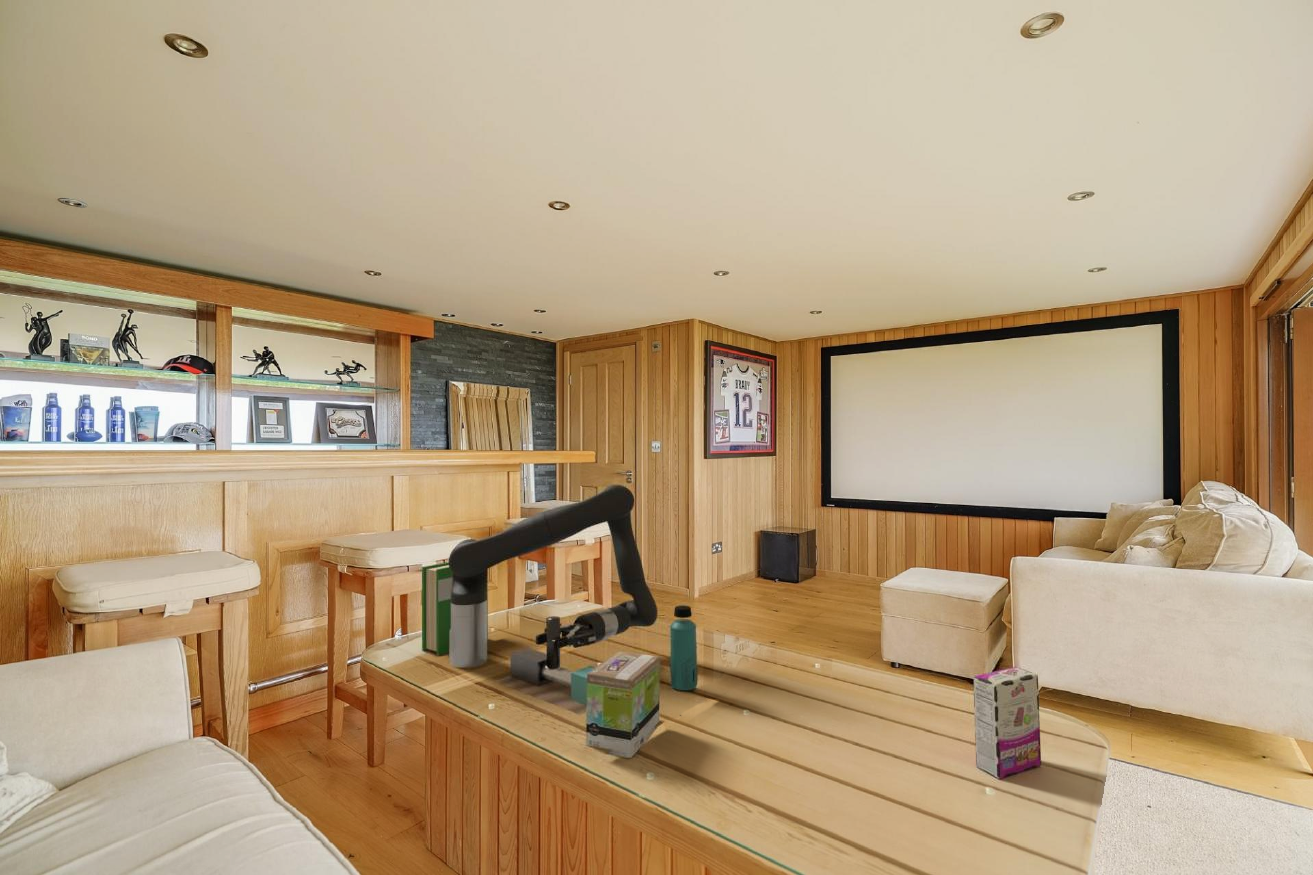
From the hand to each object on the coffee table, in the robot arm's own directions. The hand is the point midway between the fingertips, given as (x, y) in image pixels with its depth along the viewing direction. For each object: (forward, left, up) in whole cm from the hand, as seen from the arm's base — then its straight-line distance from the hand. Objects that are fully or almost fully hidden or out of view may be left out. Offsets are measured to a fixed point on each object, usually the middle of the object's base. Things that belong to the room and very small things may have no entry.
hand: (544, 642), depth 146 cm
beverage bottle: (+24, +22, -12) cm, 35 cm away
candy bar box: (+90, +31, -12) cm, 96 cm away
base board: (+2, +3, -12) cm, 12 cm away
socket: (+13, +3, -11) cm, 17 cm away
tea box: (+30, -4, -12) cm, 32 cm away
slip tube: (-2, +3, -9) cm, 10 cm away
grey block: (-8, +3, -11) cm, 14 cm away
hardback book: (-50, +8, -12) cm, 52 cm away
